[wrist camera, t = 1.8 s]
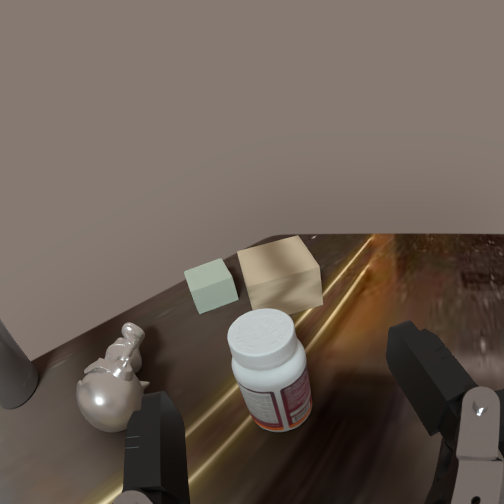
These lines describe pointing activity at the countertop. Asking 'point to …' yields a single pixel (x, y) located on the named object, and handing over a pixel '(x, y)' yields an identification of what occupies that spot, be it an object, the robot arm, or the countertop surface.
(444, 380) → the robot arm
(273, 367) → the pill bottle
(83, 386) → the figurine
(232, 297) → the sage block
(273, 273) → the oak block
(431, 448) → the countertop surface
